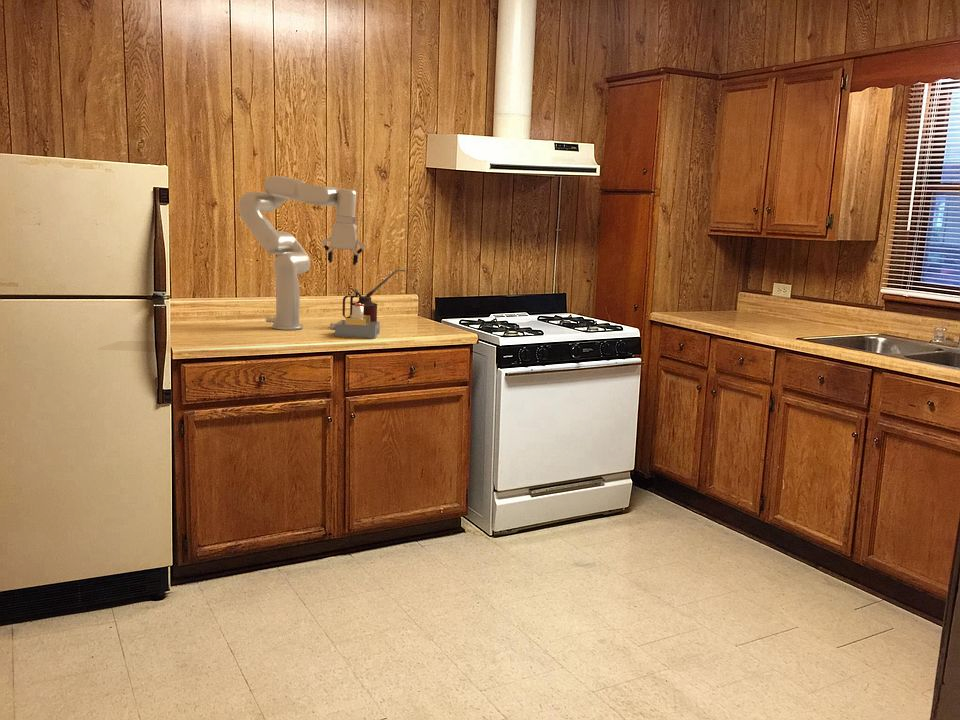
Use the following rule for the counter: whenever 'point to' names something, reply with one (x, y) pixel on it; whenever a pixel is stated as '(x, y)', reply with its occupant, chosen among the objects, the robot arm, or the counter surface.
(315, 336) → the counter surface
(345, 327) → the gearbox
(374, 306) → the oil can
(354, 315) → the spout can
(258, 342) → the counter surface
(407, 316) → the counter surface
